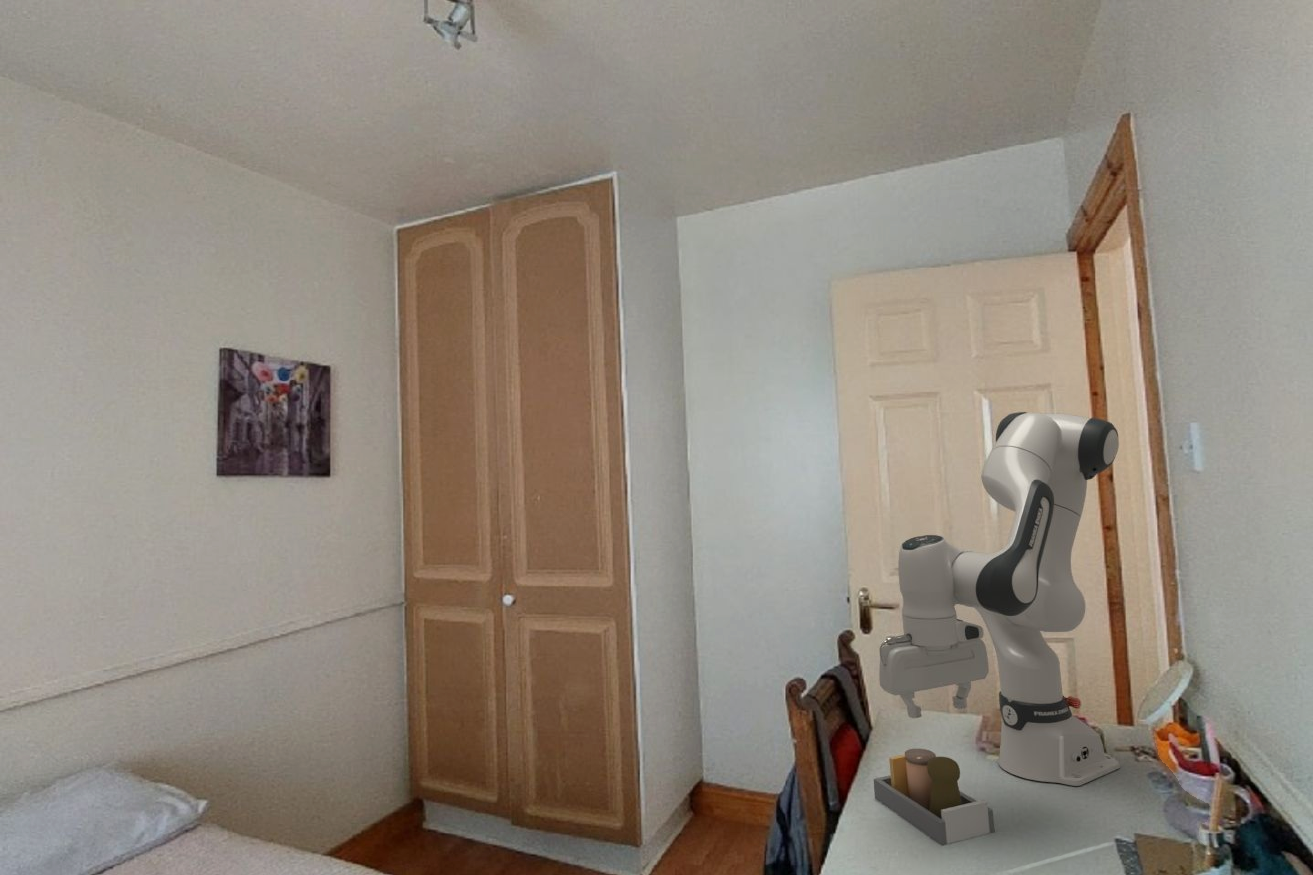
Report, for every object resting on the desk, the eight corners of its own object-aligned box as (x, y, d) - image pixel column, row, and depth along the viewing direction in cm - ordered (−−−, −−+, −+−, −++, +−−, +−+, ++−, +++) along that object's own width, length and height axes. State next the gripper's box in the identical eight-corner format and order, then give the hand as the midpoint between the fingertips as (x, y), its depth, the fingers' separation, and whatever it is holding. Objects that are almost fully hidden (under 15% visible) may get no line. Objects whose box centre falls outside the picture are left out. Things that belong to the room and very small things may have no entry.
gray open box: (922, 790, 131) (920, 760, 131) (994, 835, 114) (991, 800, 114) (875, 801, 128) (872, 770, 128) (942, 849, 110) (939, 813, 111)
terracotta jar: (926, 800, 126) (922, 746, 126) (946, 812, 121) (942, 756, 121) (902, 806, 124) (898, 751, 125) (922, 819, 119) (917, 762, 120)
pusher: (927, 794, 127) (923, 750, 128) (930, 796, 126) (927, 752, 127) (892, 802, 125) (889, 757, 125) (896, 804, 124) (892, 759, 125)
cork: (972, 835, 113) (966, 766, 114) (933, 834, 114) (927, 766, 115) (962, 817, 119) (956, 752, 119) (925, 816, 120) (920, 752, 120)
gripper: (890, 642, 113) (898, 728, 112) (991, 626, 119) (998, 708, 118) (868, 635, 119) (875, 716, 118) (964, 620, 125) (971, 697, 124)
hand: (937, 712), depth 118 cm, fingers open, 8 cm apart
